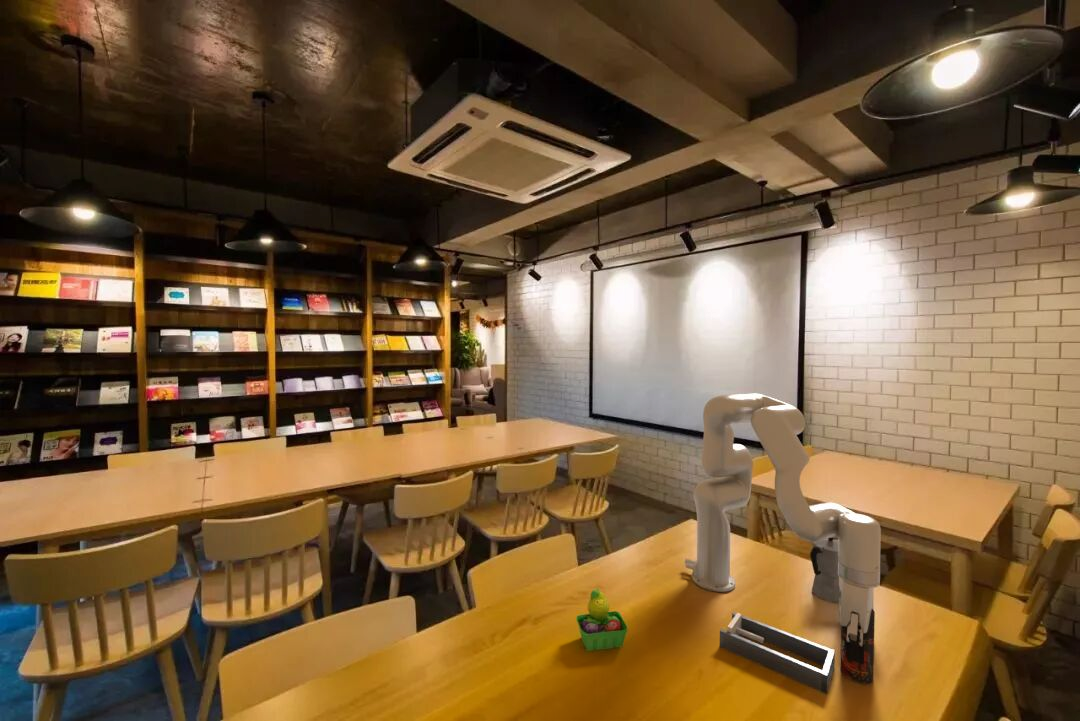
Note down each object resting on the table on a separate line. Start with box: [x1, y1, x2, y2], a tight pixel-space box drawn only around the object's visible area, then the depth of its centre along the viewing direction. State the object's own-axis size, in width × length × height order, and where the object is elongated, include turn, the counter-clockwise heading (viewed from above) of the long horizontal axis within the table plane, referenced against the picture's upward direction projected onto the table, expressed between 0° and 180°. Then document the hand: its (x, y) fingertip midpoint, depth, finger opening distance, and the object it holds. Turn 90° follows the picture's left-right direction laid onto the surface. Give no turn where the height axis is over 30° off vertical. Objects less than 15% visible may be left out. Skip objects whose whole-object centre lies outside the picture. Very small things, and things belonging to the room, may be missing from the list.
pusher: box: [726, 612, 765, 644], centre depth 106 cm, size 7×7×4 cm
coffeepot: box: [809, 537, 839, 604], centre depth 127 cm, size 15×9×18 cm, turn 116°
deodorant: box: [840, 609, 876, 685], centre depth 97 cm, size 6×6×15 cm
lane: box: [719, 611, 836, 695], centre depth 102 cm, size 22×10×4 cm, turn 49°
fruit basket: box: [575, 589, 629, 652], centre depth 108 cm, size 11×9×11 cm
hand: (857, 649), depth 97 cm, fingers open, 7 cm apart
